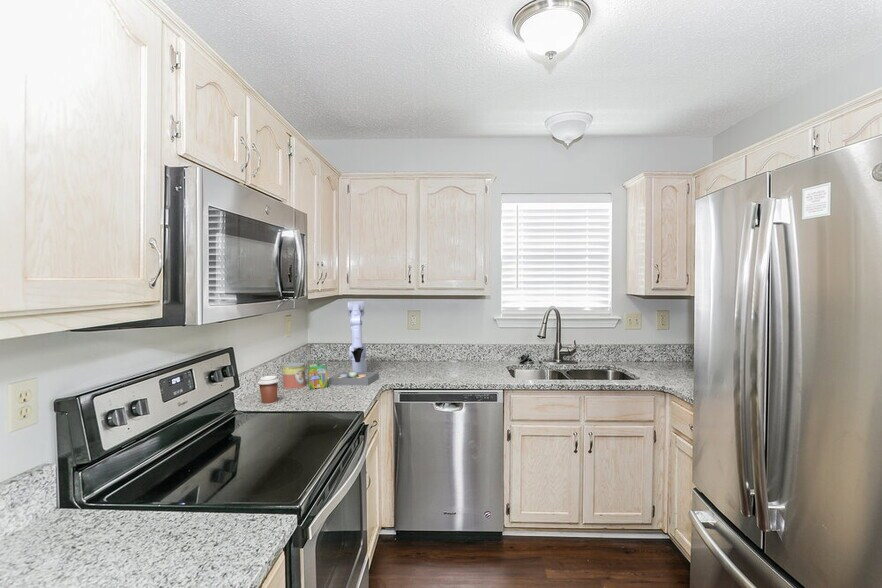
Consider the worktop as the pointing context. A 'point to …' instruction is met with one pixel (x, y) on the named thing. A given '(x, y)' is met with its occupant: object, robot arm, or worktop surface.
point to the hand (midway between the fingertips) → (357, 362)
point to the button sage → (352, 374)
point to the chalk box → (317, 375)
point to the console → (354, 379)
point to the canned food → (294, 375)
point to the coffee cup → (268, 389)
